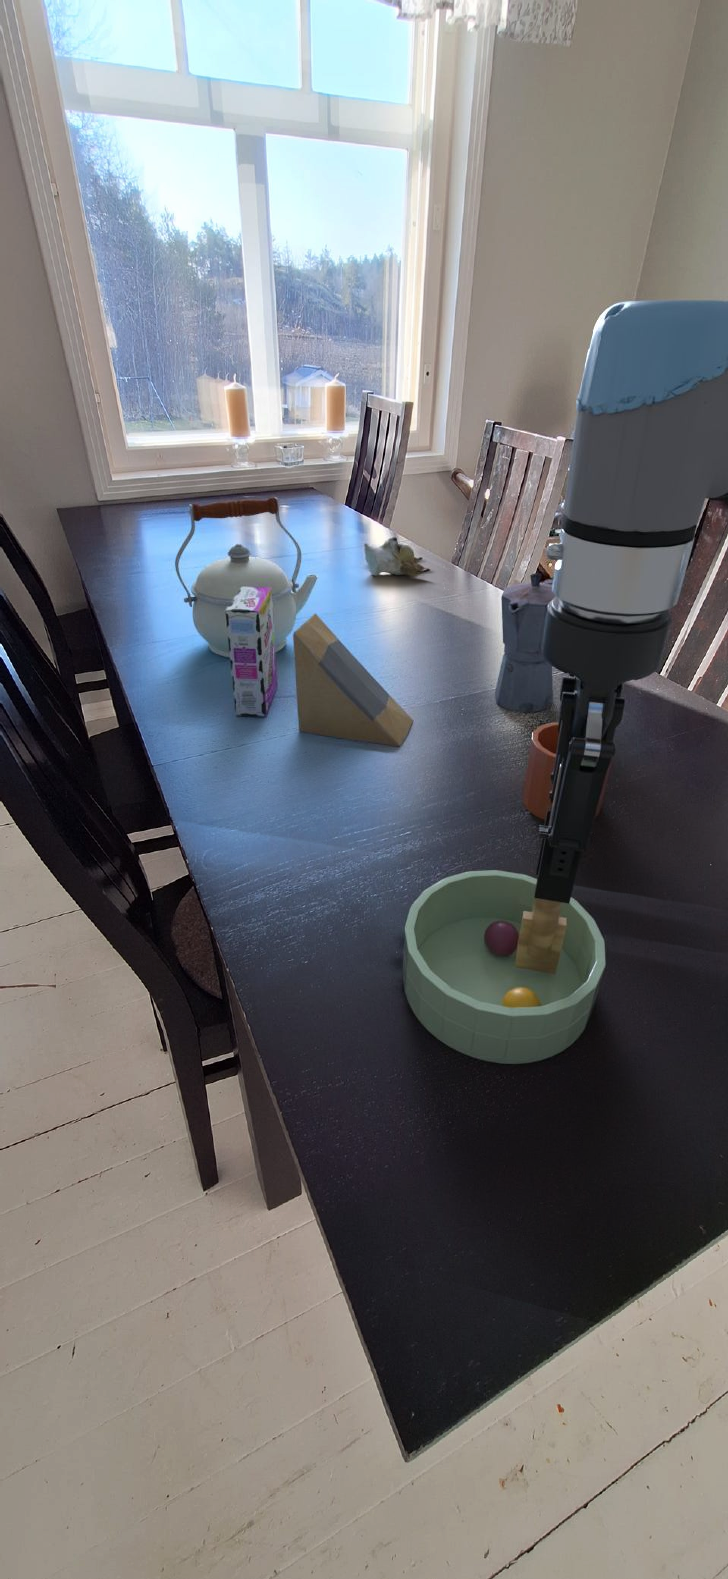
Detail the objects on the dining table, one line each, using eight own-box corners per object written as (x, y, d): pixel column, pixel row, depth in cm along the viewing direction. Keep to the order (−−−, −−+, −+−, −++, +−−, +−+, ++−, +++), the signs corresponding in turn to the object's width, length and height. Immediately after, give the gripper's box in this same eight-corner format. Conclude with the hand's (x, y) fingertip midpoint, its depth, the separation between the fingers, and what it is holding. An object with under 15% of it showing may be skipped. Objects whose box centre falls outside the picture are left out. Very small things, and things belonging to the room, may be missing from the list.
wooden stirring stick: (555, 961, 62) (600, 763, 50) (555, 980, 60) (602, 779, 49) (515, 954, 63) (550, 756, 51) (513, 972, 61) (549, 772, 49)
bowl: (589, 933, 67) (602, 886, 64) (594, 1084, 54) (609, 1036, 50) (420, 903, 70) (423, 858, 67) (385, 1039, 57) (386, 991, 54)
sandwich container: (400, 747, 96) (404, 645, 88) (297, 732, 100) (291, 632, 91) (414, 719, 103) (419, 622, 95) (317, 706, 107) (314, 611, 98)
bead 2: (541, 992, 59) (554, 1012, 56) (518, 1021, 59) (530, 1042, 56) (512, 973, 58) (524, 992, 55) (489, 1002, 58) (499, 1023, 55)
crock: (596, 797, 86) (612, 726, 81) (598, 840, 79) (616, 766, 73) (522, 787, 88) (533, 717, 82) (518, 829, 81) (530, 755, 75)
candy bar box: (268, 718, 103) (259, 611, 94) (234, 717, 103) (222, 610, 94) (279, 685, 113) (272, 585, 103) (249, 684, 113) (239, 584, 104)
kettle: (200, 673, 116) (178, 517, 102) (178, 636, 130) (156, 494, 116) (337, 650, 125) (335, 503, 111) (303, 617, 139) (296, 483, 125)
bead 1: (518, 941, 65) (522, 916, 63) (516, 966, 63) (520, 941, 61) (484, 935, 66) (487, 910, 64) (480, 960, 63) (484, 935, 62)
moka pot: (472, 709, 106) (485, 578, 95) (515, 674, 116) (531, 553, 105) (531, 726, 101) (552, 591, 90) (569, 689, 112) (592, 563, 101)
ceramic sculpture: (361, 530, 162) (424, 532, 164) (359, 567, 166) (420, 569, 168) (367, 542, 153) (433, 544, 155) (365, 581, 158) (429, 583, 160)
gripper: (551, 564, 50) (511, 824, 63) (545, 642, 38) (497, 945, 51) (661, 571, 49) (597, 836, 62) (691, 655, 36) (603, 964, 49)
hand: (552, 885), depth 56 cm, fingers closed on wooden stirring stick, 2 cm apart
